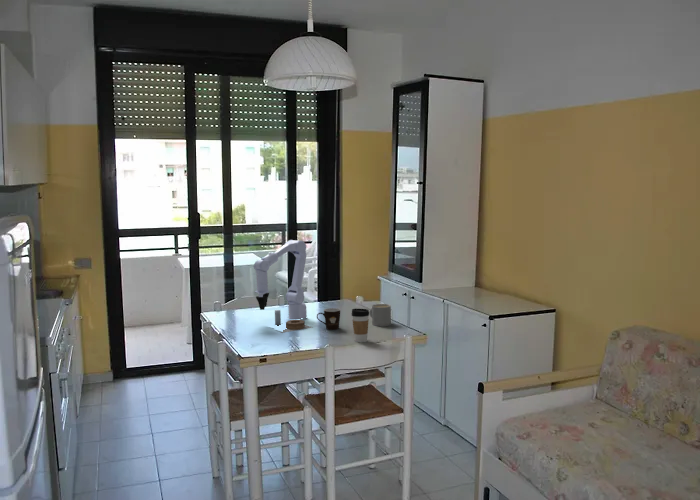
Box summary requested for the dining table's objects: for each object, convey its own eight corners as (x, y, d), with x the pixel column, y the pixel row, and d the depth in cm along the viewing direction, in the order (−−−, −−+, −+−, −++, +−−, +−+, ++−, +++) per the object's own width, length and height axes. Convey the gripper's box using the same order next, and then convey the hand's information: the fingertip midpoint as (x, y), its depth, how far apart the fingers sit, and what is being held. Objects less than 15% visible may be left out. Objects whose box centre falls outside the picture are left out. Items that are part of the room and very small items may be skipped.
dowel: (279, 324, 307) (278, 309, 307) (281, 325, 305) (281, 310, 304) (274, 325, 306) (273, 310, 305) (276, 326, 303) (276, 311, 302)
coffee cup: (351, 338, 276) (350, 307, 274) (368, 337, 277) (368, 307, 275) (352, 343, 268) (352, 311, 266) (370, 342, 268) (370, 310, 267)
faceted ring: (298, 324, 306) (298, 319, 306) (307, 327, 299) (307, 322, 298) (283, 327, 301) (283, 321, 301) (292, 330, 294) (291, 324, 293)
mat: (296, 321, 314) (296, 321, 314) (312, 328, 299) (312, 327, 299) (266, 326, 304) (266, 326, 304) (282, 333, 289) (282, 332, 289)
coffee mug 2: (394, 324, 303) (394, 306, 302) (378, 327, 298) (378, 308, 297) (380, 320, 314) (380, 302, 313) (365, 322, 309) (364, 304, 308)
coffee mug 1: (343, 327, 299) (342, 308, 298) (337, 331, 291) (337, 312, 290) (322, 326, 303) (322, 307, 301) (316, 330, 294) (315, 310, 293)
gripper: (256, 280, 310) (257, 305, 311) (252, 285, 295) (253, 311, 297) (269, 280, 310) (270, 305, 311) (266, 284, 296) (267, 310, 297)
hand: (263, 308), depth 304 cm, fingers open, 7 cm apart
